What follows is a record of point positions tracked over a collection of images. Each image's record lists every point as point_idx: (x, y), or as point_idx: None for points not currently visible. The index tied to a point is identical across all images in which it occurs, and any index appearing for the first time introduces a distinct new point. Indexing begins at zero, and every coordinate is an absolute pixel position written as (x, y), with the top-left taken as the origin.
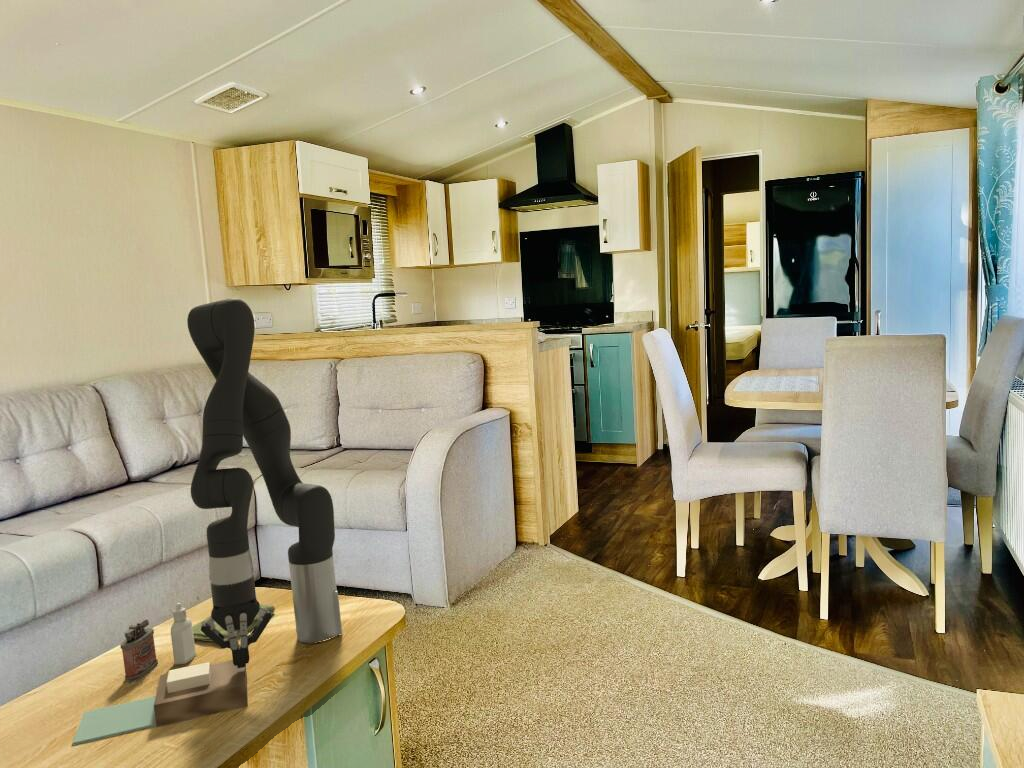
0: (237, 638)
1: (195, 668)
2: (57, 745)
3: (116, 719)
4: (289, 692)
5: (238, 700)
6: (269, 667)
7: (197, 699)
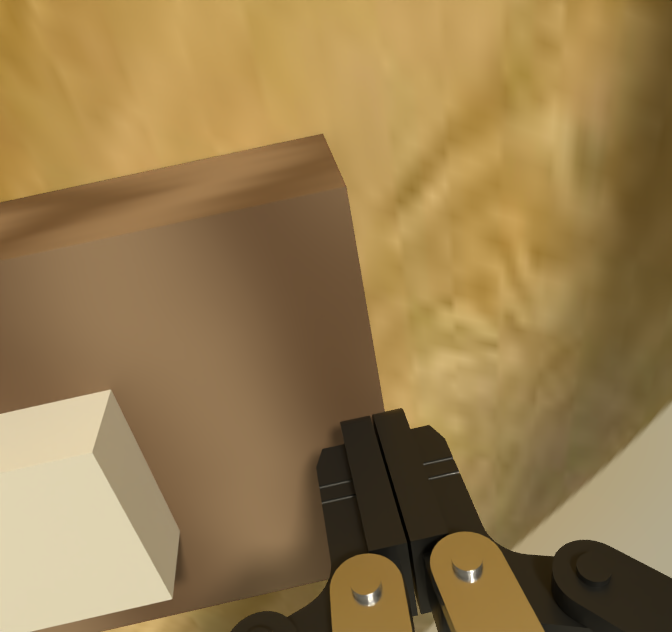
0: (408, 610)
1: (9, 532)
2: None
3: None
4: (582, 386)
5: None
6: (482, 5)
7: None
